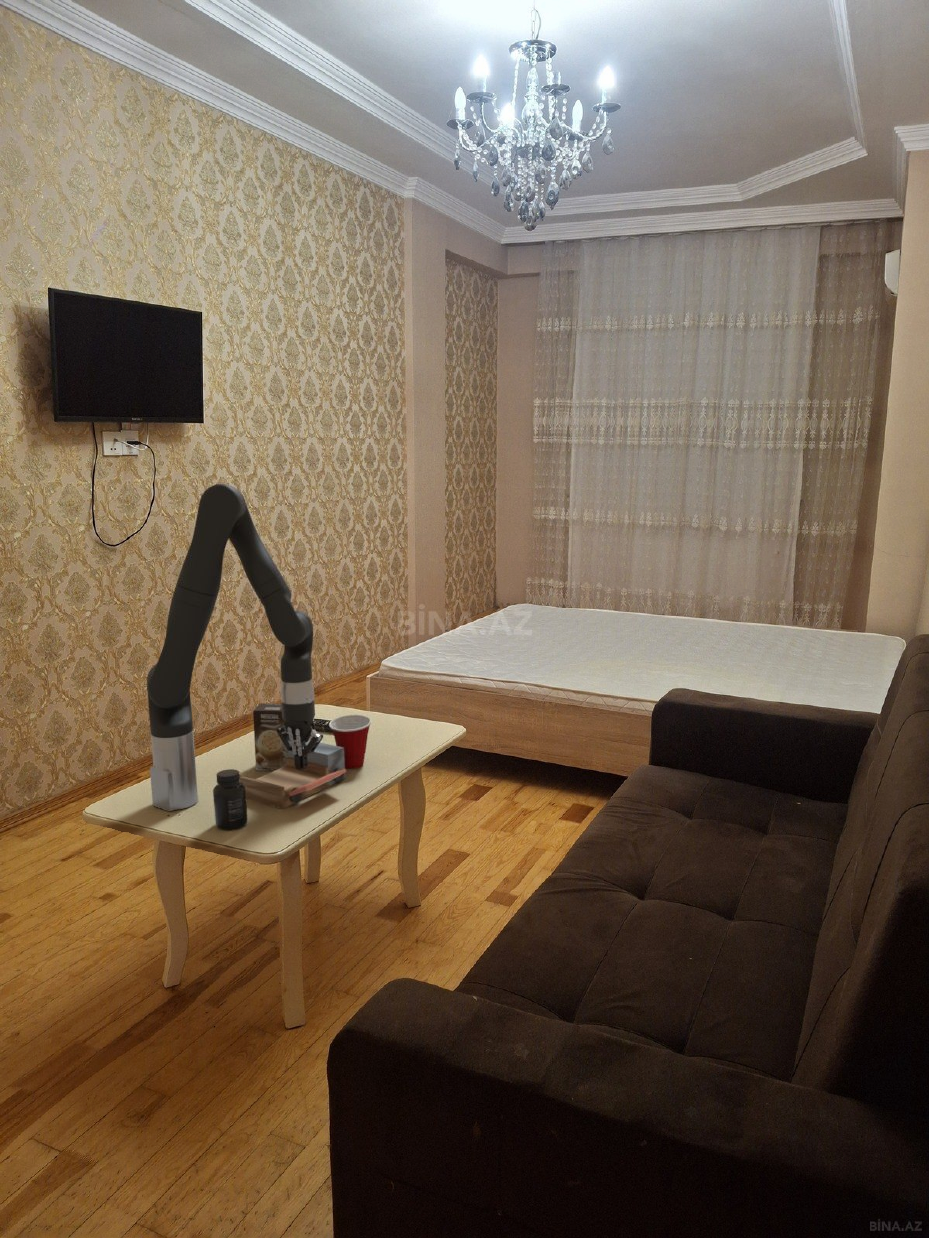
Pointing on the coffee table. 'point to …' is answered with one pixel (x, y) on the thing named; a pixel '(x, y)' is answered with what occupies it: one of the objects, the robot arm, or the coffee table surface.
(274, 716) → the coffee box
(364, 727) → the plastic cup
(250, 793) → the wooden tray with block
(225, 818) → the supplement bottle
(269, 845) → the coffee table surface
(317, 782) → the panel
